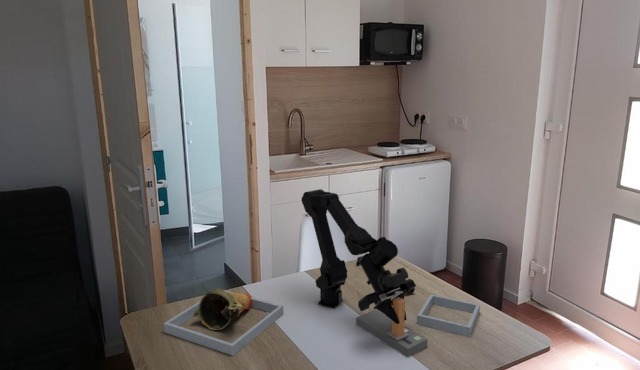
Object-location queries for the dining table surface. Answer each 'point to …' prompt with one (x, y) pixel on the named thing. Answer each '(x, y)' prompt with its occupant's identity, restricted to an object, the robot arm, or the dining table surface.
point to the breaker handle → (399, 328)
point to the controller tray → (448, 325)
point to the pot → (221, 307)
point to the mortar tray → (217, 344)
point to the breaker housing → (383, 324)
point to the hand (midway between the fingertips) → (401, 321)
